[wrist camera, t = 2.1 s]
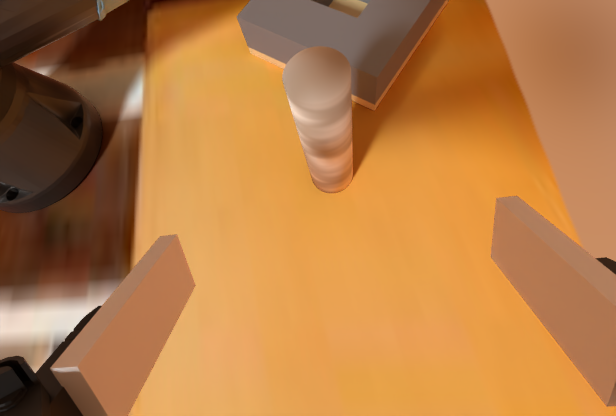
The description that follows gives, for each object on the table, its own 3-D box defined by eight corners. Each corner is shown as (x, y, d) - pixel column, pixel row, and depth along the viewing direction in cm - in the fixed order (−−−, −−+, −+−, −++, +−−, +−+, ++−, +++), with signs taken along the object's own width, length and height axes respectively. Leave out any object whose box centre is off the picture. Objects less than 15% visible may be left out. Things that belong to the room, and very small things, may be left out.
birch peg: (303, 180, 33) (269, 86, 20) (325, 148, 34) (306, 37, 21) (338, 200, 32) (326, 114, 19) (360, 166, 33) (364, 61, 20)
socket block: (250, 53, 39) (236, 16, 34) (326, -40, 42) (322, -86, 38) (374, 110, 35) (377, 77, 30) (448, 1, 38) (461, -45, 33)
